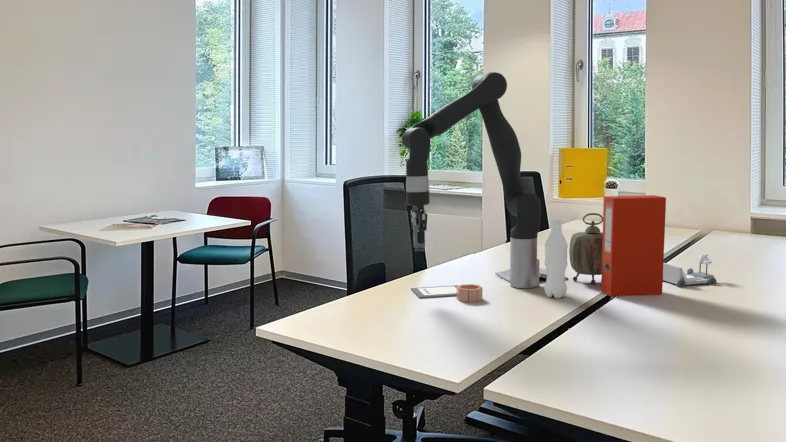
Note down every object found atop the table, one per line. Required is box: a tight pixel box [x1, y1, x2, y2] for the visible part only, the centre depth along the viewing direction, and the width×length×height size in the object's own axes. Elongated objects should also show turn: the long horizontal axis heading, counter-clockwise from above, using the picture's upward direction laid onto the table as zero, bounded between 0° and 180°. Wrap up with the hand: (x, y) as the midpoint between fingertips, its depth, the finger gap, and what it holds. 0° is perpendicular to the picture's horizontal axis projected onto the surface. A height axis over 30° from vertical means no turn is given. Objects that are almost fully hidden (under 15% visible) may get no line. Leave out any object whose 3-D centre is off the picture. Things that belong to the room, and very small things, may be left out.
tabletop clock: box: [568, 212, 603, 285], centre depth 221 cm, size 14×9×25 cm, turn 84°
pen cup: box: [456, 283, 483, 303], centre depth 203 cm, size 8×8×4 cm
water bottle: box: [543, 219, 569, 299], centre depth 203 cm, size 7×7×25 cm
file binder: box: [600, 194, 667, 298], centre depth 205 cm, size 8×17×32 cm, turn 95°
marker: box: [412, 213, 426, 252], centre depth 204 cm, size 4×4×12 cm
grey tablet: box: [410, 284, 459, 299], centre depth 213 cm, size 17×13×1 cm
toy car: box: [663, 253, 717, 288], centre depth 221 cm, size 18×10×12 cm
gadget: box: [494, 267, 569, 284], centre depth 233 cm, size 22×6×15 cm
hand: (419, 242), depth 205 cm, fingers closed on marker, 3 cm apart
